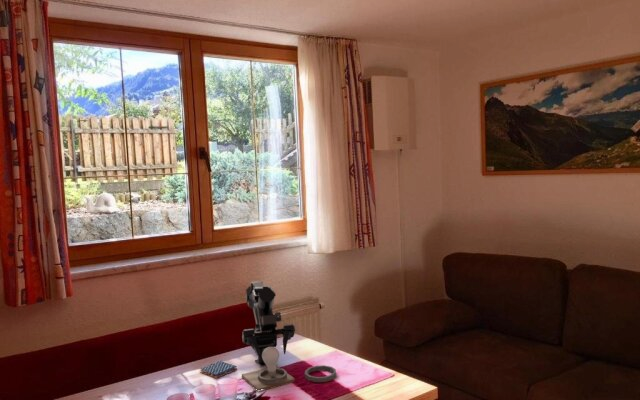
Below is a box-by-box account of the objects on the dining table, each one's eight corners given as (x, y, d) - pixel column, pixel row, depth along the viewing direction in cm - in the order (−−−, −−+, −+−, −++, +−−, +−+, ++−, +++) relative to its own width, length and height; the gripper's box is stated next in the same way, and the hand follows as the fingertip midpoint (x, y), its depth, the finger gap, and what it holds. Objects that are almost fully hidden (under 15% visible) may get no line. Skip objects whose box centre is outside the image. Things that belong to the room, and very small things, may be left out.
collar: (299, 374, 182) (299, 370, 181) (325, 367, 187) (325, 363, 187) (314, 384, 172) (314, 380, 172) (341, 377, 178) (341, 372, 177)
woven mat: (221, 364, 196) (220, 359, 196) (238, 370, 189) (238, 365, 189) (198, 373, 188) (198, 368, 188) (216, 380, 181) (216, 374, 181)
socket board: (241, 377, 181) (241, 370, 181) (276, 368, 188) (276, 361, 188) (258, 391, 168) (257, 384, 168) (294, 381, 175) (294, 374, 175)
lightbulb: (284, 376, 177) (281, 346, 176) (270, 382, 173) (267, 351, 172) (274, 372, 181) (272, 343, 181) (260, 378, 178) (257, 347, 177)
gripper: (241, 307, 177) (246, 348, 167) (292, 302, 182) (300, 341, 172) (240, 323, 185) (245, 362, 175) (289, 317, 190) (297, 355, 180)
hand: (272, 355), depth 175 cm, fingers open, 9 cm apart
